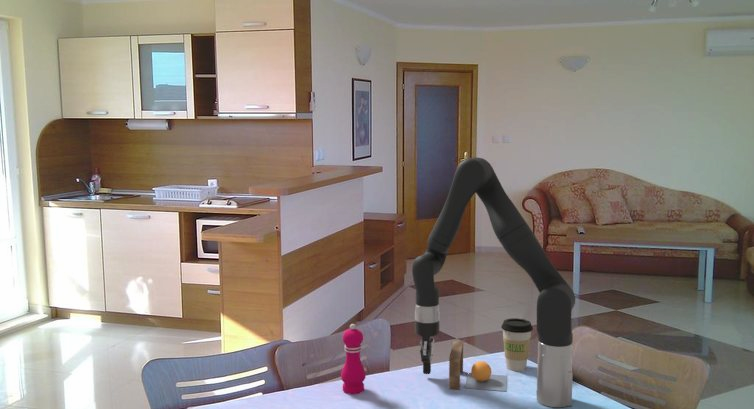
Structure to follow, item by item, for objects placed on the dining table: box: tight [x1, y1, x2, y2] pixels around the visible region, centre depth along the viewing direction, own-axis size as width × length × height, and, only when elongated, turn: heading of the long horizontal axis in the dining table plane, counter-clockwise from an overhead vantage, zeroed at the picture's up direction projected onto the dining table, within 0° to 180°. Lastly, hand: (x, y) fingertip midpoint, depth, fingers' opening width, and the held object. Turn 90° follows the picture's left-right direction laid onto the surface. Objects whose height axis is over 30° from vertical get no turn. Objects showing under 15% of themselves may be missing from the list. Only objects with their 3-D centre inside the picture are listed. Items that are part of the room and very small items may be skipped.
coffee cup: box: [501, 317, 533, 372], centre depth 201 cm, size 10×10×15 cm
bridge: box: [448, 340, 464, 391], centre depth 191 cm, size 3×15×10 cm, turn 168°
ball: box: [470, 360, 492, 382], centre depth 191 cm, size 6×6×6 cm
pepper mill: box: [340, 323, 367, 395], centre depth 184 cm, size 7×7×20 cm
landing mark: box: [464, 372, 507, 392], centre depth 190 cm, size 12×12×1 cm
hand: (426, 373), depth 194 cm, fingers closed
